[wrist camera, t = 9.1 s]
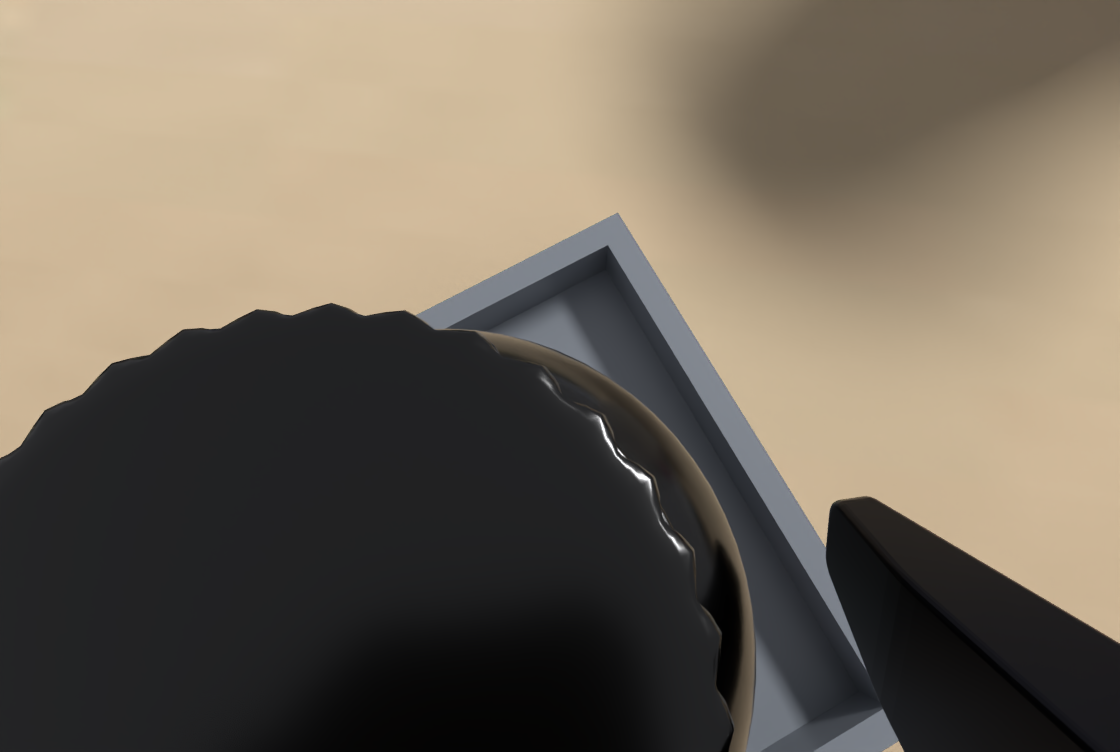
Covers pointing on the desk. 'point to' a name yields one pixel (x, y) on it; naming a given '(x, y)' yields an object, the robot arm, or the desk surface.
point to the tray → (723, 457)
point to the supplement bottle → (365, 554)
